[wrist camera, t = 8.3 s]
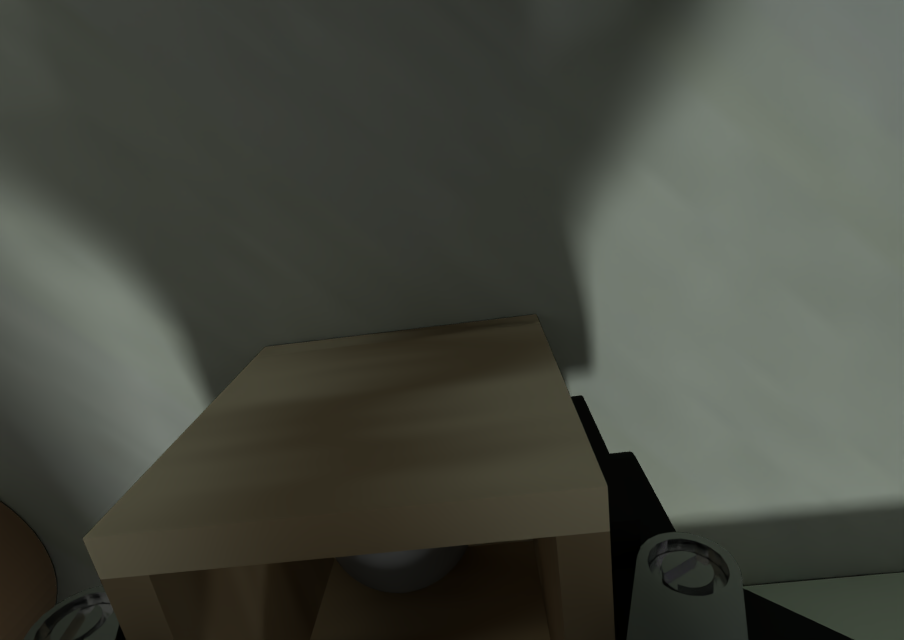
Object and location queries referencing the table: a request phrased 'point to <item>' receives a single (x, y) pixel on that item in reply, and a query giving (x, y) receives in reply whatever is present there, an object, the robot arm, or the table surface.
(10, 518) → the terracotta pot
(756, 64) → the table surface
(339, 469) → the wooden box
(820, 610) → the tray
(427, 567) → the rubber ball
